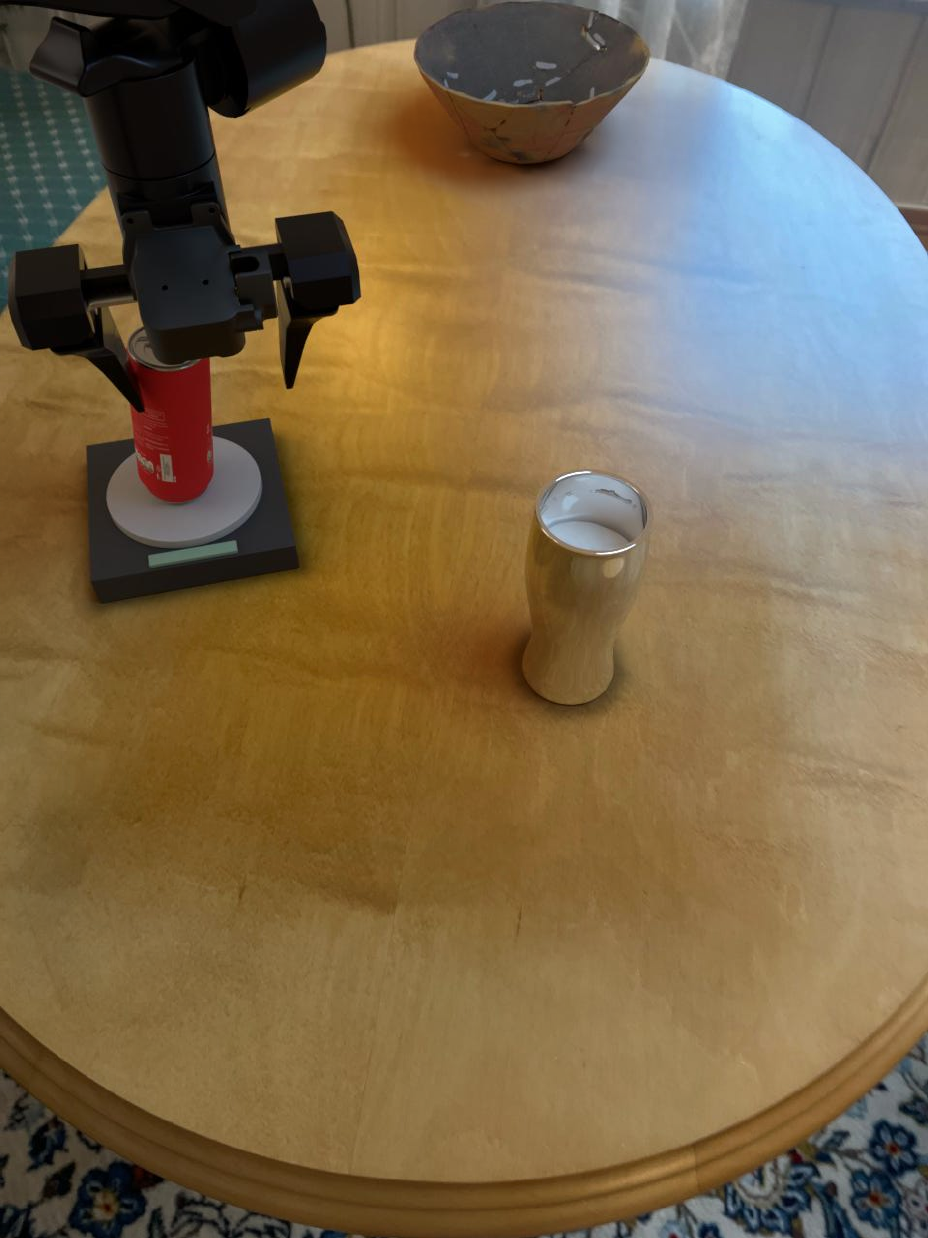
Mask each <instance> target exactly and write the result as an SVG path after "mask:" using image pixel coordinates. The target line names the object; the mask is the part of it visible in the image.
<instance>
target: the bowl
mask: <svg viewBox="0 0 928 1238" xmlns="http://www.w3.org/2000/svg"><path fill="white" fill-rule="evenodd" d="M599 11H600V10H596V9H593V8H588V7H584V6H579V5H574V4H570V3H564V2H553V1H544V0H532V1H530V0H529V1H504V2H503V1H502V2H495V3H491V4H490V3H489V4H483V5H479V6H478V5H477V6H473V7H469V8H464V9H460V10H455V11H453V12H451V13H450V14H447V15H446V16H445V17H443V18H441V19H439V20H437V21H435V22H434V23H432V24H430V25H429V26H428V27H426V28H425V29H424V30H423V31H421V33H419V35H418V37H417V39H416V41H415V43H414V49H413V60H414V62H415V65H416V66H417V69H418V71H419V74H420V76H421V77H422V79H423V80H424V82H425V83H426V85H427V86H428V88H429V90H430V91H431V92H432V93H433V95H434V96H435V98H436V99H437V100H438V102H439V103H440V104H441V107H443V109H444V110H445V111H446V113H447V114H448V116H449V117H450V119H451V120H452V121H453V122H454V123H455V125H456V126H458V128H459V129H460V130H461V131H462V132H463V134H465V135H466V137H468V139H470V140H471V142H472V144H474V145H475V146H476V147H477V148H478V149H479V150H480V151H482V152H483V153H484V154H486V155H487V156H488V157H491V158H493V159H495V160H498V161H501V162H505V163H510V164H511V163H513V164H519V165H522V164H525V165H526V164H527V165H528V164H541V163H545V162H549V161H553V160H557V159H559V158H562V157H563V156H565V155H566V154H568V153H569V152H571V151H573V149H575V148H576V147H577V146H579V145H580V144H581V143H582V142H584V141H585V140H586V139H587V138H588V137H589V135H590V134H592V132H593V131H594V130H595V128H596V127H597V126H599V125H600V124H601V123H602V122H603V120H604V119H605V118H606V117H607V116H608V115H609V114H610V113H611V112H612V111H613V109H614V108H616V107H617V105H618V104H619V103H620V102H621V101H622V100H623V99H624V98H625V97H626V96H627V95H628V93H629V92H630V91H631V90H632V89H633V87H634V86H635V85H636V84H637V83H638V82H639V81H640V80H641V78H642V77H643V75H644V74H645V72H646V69H647V68H648V65H649V63H650V57H651V53H650V47H649V46H648V45H647V43H646V41H645V40H644V39H643V37H642V36H641V35H640V34H639V33H638V31H636V30H635V29H633V28H632V27H630V25H628V24H627V23H624V22H621V21H620V20H618V19H616V18H614V17H612V16H610V15H608V14H606V13H604V12H599ZM587 34H588V35H589V37H590V38H591V39H592V40H593V41H594V42H595V43H596V44H597V45H598V46H599V49H598V47H597V46H595V45H594V44H593V43H592V42H591V41H590V40H589V39H588V38H587Z"/></svg>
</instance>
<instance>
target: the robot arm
mask: <svg viewBox="0 0 928 1238" xmlns="http://www.w3.org/2000/svg"><path fill="white" fill-rule="evenodd" d="M2 6H3V7H4V6H21V7H22V6H23V7H34V8H41V9H49V10H55V11H60V12H65V13H66V12H67V13H73V14H79V15H85V16H91V17H97V18H100V19H98V20H96V21H94V22H92V23H88V24H86V25H83V24H80V23H77V22H74V21H72V20H70V19H67V18H63V17H62V16H59V15H54V16H52V17H51V18H50V20H49V26H48V31H47V33H46V35H45V37H44V39H43V40H42V42H41V43H39V44H38V46H37V47H36V48H35V50H34V52H33V54H32V57H31V59H30V61H29V63H28V72H29V73H30V75H31V76H32V77H33V78H34V79H36V80H39V81H42V82H44V83H46V84H49V85H51V86H53V87H56V88H59V89H61V90H63V91H66V92H68V93H71V94H73V95H75V96H77V97H80V98H82V101H83V104H84V107H85V112H86V115H87V118H88V122H89V126H90V128H91V132H92V136H93V140H94V143H95V146H96V149H97V153H98V156H99V160H100V164H101V167H102V170H103V174H104V178H105V181H106V184H107V185H106V186H107V188H108V192H109V195H110V198H111V203H112V205H113V209H114V212H115V216H116V219H117V224H118V227H119V230H120V234H121V237H122V247H121V257H122V264H115V265H108V266H99V267H93V268H89V264H88V262H87V258H86V255H85V252H84V250H83V248H82V246H81V245H80V243H73V244H64V245H55V246H48V247H41V248H33V249H25V250H18V251H17V250H16V251H15V252H14V254H13V255H12V257H11V259H10V261H9V263H8V273H7V274H8V275H7V277H8V278H7V279H8V280H7V308H8V312H9V316H10V320H11V323H12V327H13V328H14V330H15V333H16V335H17V338H18V340H19V342H20V346H21V347H23V348H25V349H28V350H30V351H34V352H35V351H41V350H47V349H49V351H50V352H51V353H53V354H54V355H55V356H58V357H65V356H74V357H80V358H84V359H86V360H87V361H89V362H90V363H91V364H92V365H93V366H95V367H96V369H98V370H99V372H101V373H102V374H103V375H104V376H105V377H106V378H107V379H108V381H110V383H111V384H112V385H113V386H114V387H115V388H116V389H117V391H118V392H119V393H120V394H121V395H122V397H124V398H125V399H126V401H127V402H128V403H129V405H130V404H131V405H132V406H133V407H134V408H135V410H136V411H137V412H138V413H143V412H145V405H144V400H143V396H142V392H141V388H140V385H139V381H138V378H137V375H136V373H135V371H134V368H133V366H132V363H131V361H130V358H129V356H128V354H127V351H126V346H125V344H124V342H123V339H122V336H121V334H120V332H119V328H118V327H117V324H116V322H115V319H114V317H113V315H112V312H111V310H110V307H113V306H122V305H128V304H136V303H137V306H138V312H139V316H140V317H139V318H140V320H141V322H142V326H144V329H145V332H146V334H147V337H148V340H149V343H150V346H151V349H152V352H153V355H154V356H155V358H156V359H157V360H158V361H159V362H161V363H163V364H166V365H179V364H183V363H184V362H186V361H190V360H197V359H203V358H210V359H211V358H216V357H218V358H223V359H224V358H231V357H234V356H236V355H238V354H239V353H241V352H242V351H243V350H244V348H245V346H246V343H247V340H246V334H245V333H250V332H257V331H262V330H263V331H264V330H265V329H264V327H265V326H264V322H265V321H267V320H273V319H274V320H275V319H277V322H278V323H277V325H278V343H279V344H278V345H279V359H280V365H281V370H282V375H283V381H284V385H285V389H286V390H293V389H294V386H295V382H296V379H297V375H298V372H299V367H300V364H301V360H302V358H303V357H302V356H303V353H304V349H305V346H306V343H307V340H308V338H309V336H310V333H311V331H312V329H313V328H314V326H315V324H316V323H317V322H319V321H320V320H322V319H324V318H329V317H333V316H335V315H337V314H338V312H339V309H340V307H342V306H348V305H354V304H355V303H357V301H358V300H360V299H361V298H362V290H361V279H360V278H361V277H360V270H359V269H360V267H359V264H358V258H357V255H356V252H355V249H354V247H353V243H352V240H351V238H350V235H349V233H348V230H347V227H346V224H345V221H344V220H343V219H342V218H341V217H340V216H339V215H338V214H336V213H335V212H334V211H333V210H327V211H318V212H312V213H303V214H296V215H288V216H282V217H281V216H280V217H275V218H274V230H275V236H276V242H274V243H267V244H259V245H250V246H243V247H242V246H241V243H240V244H237V242H236V239H235V235H234V234H233V232H232V227H231V222H230V217H229V211H228V206H227V202H226V201H227V200H226V196H225V191H224V190H225V189H224V185H223V180H222V175H221V169H220V164H219V158H218V153H217V148H216V144H215V139H214V133H213V126H212V122H211V117H210V111H209V109H210V110H211V111H213V112H214V113H216V114H218V115H219V116H221V117H223V118H227V119H239V118H241V117H243V116H246V115H248V114H249V113H251V112H253V111H255V110H256V109H259V108H261V107H262V106H264V105H266V104H268V103H270V102H271V101H273V100H275V99H277V98H279V97H281V96H283V95H284V94H286V93H289V92H290V91H292V90H293V89H295V88H297V87H299V86H301V85H303V84H304V83H306V82H308V81H310V80H312V79H314V78H315V77H316V76H317V75H318V74H319V73H320V72H321V70H322V68H323V66H324V64H325V61H326V58H327V57H326V56H327V53H328V50H327V49H328V48H327V47H328V38H327V37H328V36H327V30H326V29H327V28H326V25H325V23H324V22H323V21H322V20H321V16H320V14H319V10H318V8H317V5H316V4H315V2H314V0H0V7H2ZM274 282H275V283H276V284H274ZM275 285H276V287H275ZM275 288H276V290H275Z"/></svg>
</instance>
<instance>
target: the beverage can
mask: <svg viewBox="0 0 928 1238" xmlns="http://www.w3.org/2000/svg"><path fill="white" fill-rule="evenodd" d="M125 349H126V351H127V354H128V356H129V358H130V361H131V363H132V366H133V368H134V371H135V373H136V375H137V378H138V381H139V385H140V388H141V392H142V396H143V400H144V405H145V412H143V413H138V412H137V411H136V410H135V408H134V407H133V406H132V405H131V404H130V403H129V407H130V408H129V409H130V416H131V417H130V418H131V425H132V434H133V438H134V442H135V451H136V459H137V467H138V474H139V477H140V479H141V481H142V483H143V484H144V485H145V486H146V487H147V489H148V491H149V492H150V493H151V494H152V495H153V496H154V497H156V498H157V499H159V500H162V501H165V502H169V503H185V502H189V501H192V500H195V499H197V498H198V497H200V496H201V495H202V494H203V493H204V492H205V491H206V489H207V487H208V484H209V483H210V481H211V479H212V477H213V473H214V463H213V436H212V426H213V412H212V411H213V409H212V383H211V381H212V380H211V357H210V358H203V359H197V360H190V361H186V362H184V363H183V364H179V365H166V364H163V363H161V362H159V361H158V360H157V359H156V358H155V356H154V355H153V352H152V349H151V346H150V343H149V340H148V337H147V334H146V332H145V329H144V326H143V325H142V326H140V327H138V328H136V329H135V330H134V331H133V332H132V333H131V334H130V335H129V337H128V339H127V342H126V346H125Z"/></svg>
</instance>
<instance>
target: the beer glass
mask: <svg viewBox="0 0 928 1238" xmlns="http://www.w3.org/2000/svg"><path fill="white" fill-rule="evenodd" d="M654 514H655V513H654V508H653V505H652V502H651V500H650V499H649V497H648V495H647V494H646V493H645V492H644V490H643V488H642V489H641V487H640V486H639V485H637V484H636V483H635V482H633V481H632V480H630V479H629V478H627V477H625V476H622V475H621V474H617V473H615V472H612V471H607V470H603V469H596V468H583V469H575V470H570V471H566V472H563V473H560V474H558V475H556V476H555V477H553V478H551V479H550V480H548V481H547V482H546V483H545V484H543V486H542V487H541V488H540V490H539V491H538V493H537V495H536V497H535V499H534V505H533V513H532V517H531V521H530V526H529V531H528V534H527V535H528V536H527V543H526V550H525V559H524V560H525V561H524V581H525V592H526V598H527V605H528V611H529V616H530V623H531V632H530V637H529V639H528V642H527V644H526V646H525V648H524V651H523V654H522V658H521V659H522V660H521V668H522V674H523V676H524V679H525V681H526V682H527V684H528V686H529V687H530V688H531V689H532V691H534V692H535V693H536V694H537V695H538V696H540V697H541V698H543V699H544V700H547V701H549V702H552V703H555V704H559V705H568V706H577V705H583V704H586V703H589V702H592V701H594V700H596V699H598V698H599V697H600V696H601V695H602V694H603V693H605V691H606V690H607V689H608V687H609V686H610V684H611V683H612V679H613V676H614V670H615V669H614V666H615V665H614V654H613V653H614V652H613V651H614V650H613V649H614V644H615V641H616V639H617V637H618V635H619V633H620V631H621V630H622V627H623V625H624V624H625V622H626V620H627V618H628V617H629V615H630V613H631V612H632V609H633V607H634V606H635V605H634V604H635V603H636V600H637V598H638V596H639V593H640V591H641V587H642V584H643V581H644V578H645V574H646V570H647V564H648V560H649V555H650V554H649V553H650V547H651V537H652V529H653V525H654V519H655V515H654Z"/></svg>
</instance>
